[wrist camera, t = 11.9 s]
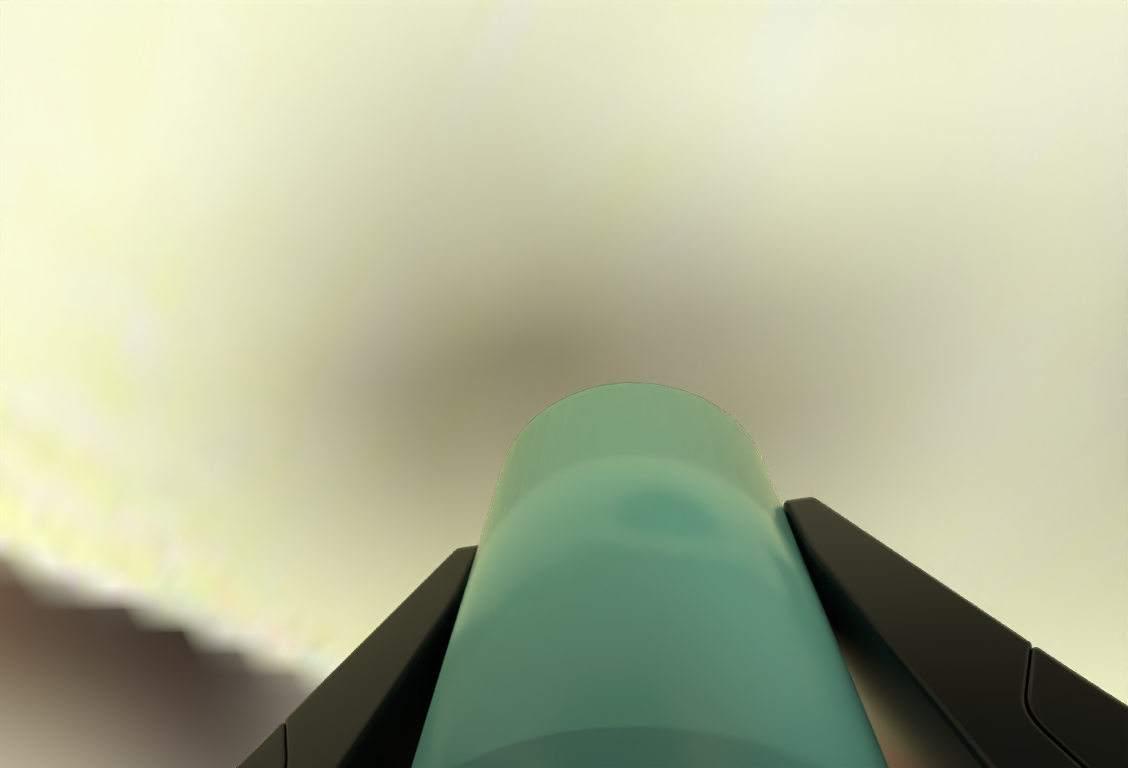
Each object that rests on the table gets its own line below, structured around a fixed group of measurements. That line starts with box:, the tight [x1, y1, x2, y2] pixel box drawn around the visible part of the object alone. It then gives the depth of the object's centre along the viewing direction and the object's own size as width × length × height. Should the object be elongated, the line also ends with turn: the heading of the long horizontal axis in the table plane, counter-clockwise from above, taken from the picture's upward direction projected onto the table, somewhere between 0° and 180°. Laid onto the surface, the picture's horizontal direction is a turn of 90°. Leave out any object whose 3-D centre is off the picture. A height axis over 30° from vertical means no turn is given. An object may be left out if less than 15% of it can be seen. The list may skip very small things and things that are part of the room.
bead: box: [411, 383, 889, 768], centre depth 8 cm, size 4×4×6 cm
